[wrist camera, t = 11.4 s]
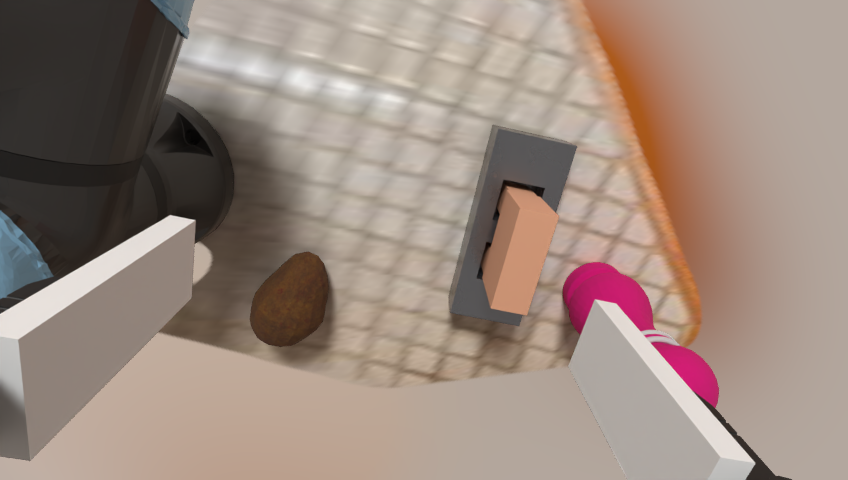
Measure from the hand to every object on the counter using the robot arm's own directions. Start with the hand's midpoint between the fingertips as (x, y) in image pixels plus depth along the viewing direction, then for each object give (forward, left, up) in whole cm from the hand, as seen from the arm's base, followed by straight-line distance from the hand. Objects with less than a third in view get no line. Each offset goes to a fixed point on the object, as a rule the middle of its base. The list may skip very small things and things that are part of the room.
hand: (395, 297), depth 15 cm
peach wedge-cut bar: (+10, -5, -29) cm, 31 cm away
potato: (-9, -16, -30) cm, 35 cm away
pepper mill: (+21, -10, -30) cm, 38 cm away
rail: (+10, -5, -29) cm, 31 cm away
